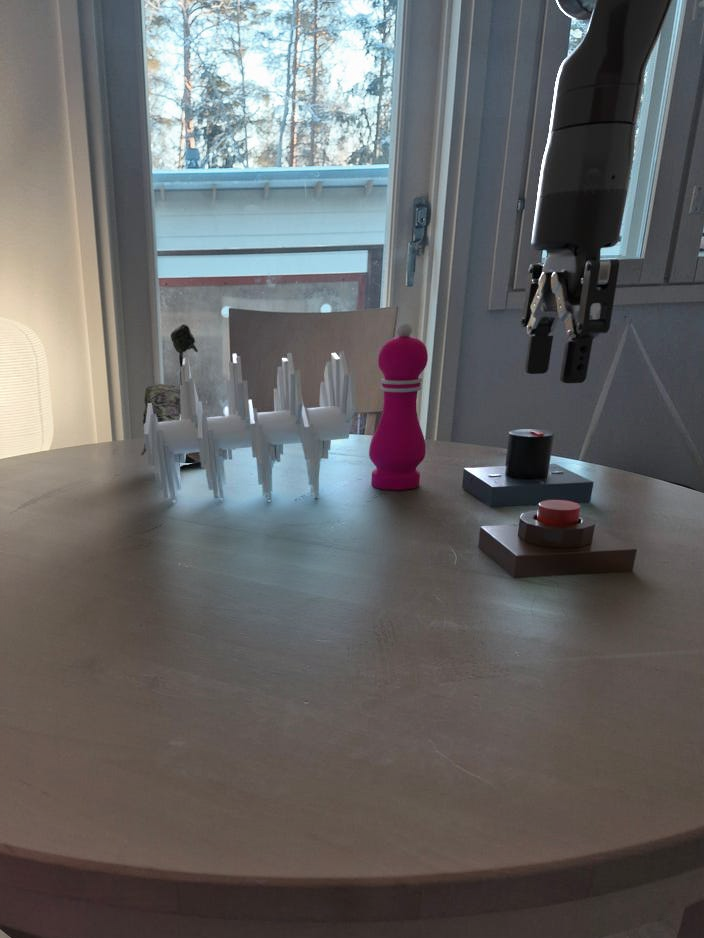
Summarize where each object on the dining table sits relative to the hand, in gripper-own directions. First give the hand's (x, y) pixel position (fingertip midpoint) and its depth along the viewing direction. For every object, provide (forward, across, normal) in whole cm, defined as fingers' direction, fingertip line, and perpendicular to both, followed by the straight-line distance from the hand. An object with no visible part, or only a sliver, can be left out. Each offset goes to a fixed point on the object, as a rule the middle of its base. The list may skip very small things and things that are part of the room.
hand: (552, 377), depth 74 cm
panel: (+15, +12, -4) cm, 20 cm away
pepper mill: (+16, +20, +10) cm, 27 cm away
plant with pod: (+16, +38, +40) cm, 57 cm away
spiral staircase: (+16, +16, +30) cm, 38 cm away
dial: (+13, +12, -4) cm, 18 cm away
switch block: (+15, -11, +2) cm, 19 cm away
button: (+12, -11, +2) cm, 16 cm away
